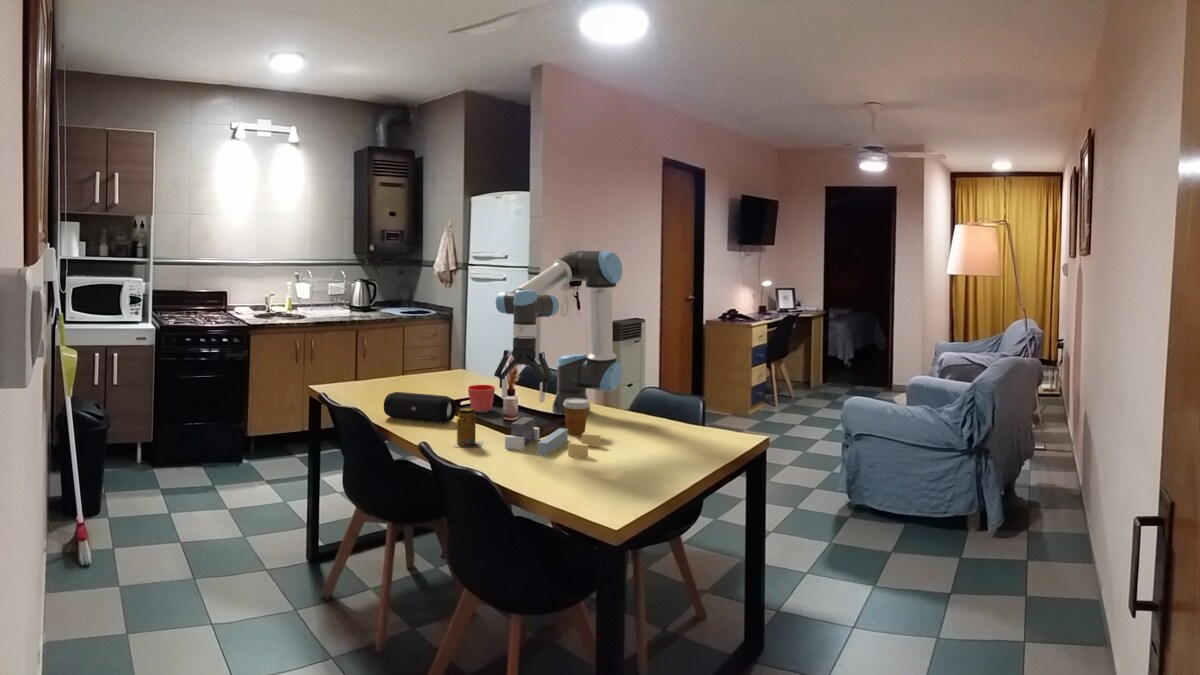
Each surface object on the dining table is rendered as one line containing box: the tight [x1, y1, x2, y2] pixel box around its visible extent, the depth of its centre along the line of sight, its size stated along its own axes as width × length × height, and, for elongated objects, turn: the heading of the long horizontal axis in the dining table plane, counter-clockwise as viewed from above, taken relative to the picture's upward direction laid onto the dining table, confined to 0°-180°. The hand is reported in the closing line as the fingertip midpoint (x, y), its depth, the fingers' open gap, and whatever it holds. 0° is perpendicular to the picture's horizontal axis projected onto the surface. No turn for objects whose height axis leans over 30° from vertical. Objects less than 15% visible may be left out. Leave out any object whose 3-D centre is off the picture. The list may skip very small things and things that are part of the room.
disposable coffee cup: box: [563, 398, 591, 437], centre depth 268 cm, size 10×10×12 cm
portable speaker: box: [383, 391, 457, 424], centre depth 281 cm, size 26×10×10 cm, turn 76°
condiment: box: [453, 407, 484, 448], centre depth 250 cm, size 7×8×12 cm
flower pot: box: [467, 384, 496, 411], centre depth 299 cm, size 11×11×10 cm
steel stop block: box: [510, 416, 535, 448], centre depth 253 cm, size 10×4×8 cm, turn 163°
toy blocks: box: [504, 426, 601, 459], centre depth 250 cm, size 20×28×4 cm
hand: (523, 399), depth 251 cm, fingers open, 13 cm apart
